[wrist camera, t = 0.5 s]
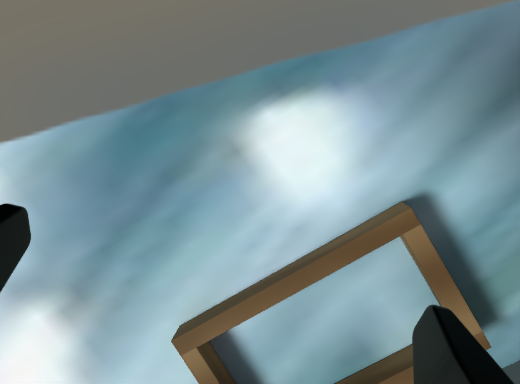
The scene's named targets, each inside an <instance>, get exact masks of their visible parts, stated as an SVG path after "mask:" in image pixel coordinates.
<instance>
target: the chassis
mask: <svg viewBox="0 0 520 384" xmlns="http://www.w3.org/2000/svg"><path fill="white" fill-rule="evenodd" d="M399 236H400V237H401V239H402V241H403V242H404V244H405V246H406V248H407V249H408V251H409V253H410V254H411V256H412V258H413V260H414V261H415V263H416V265H417V266H418V268H419V270H420V272H421V273H422V275H423V277H424V278H425V280H426V282H427V284H428V285H429V287H430V289H431V291H432V292H433V294H434V296H435V297H436V299H437V301H438V303H439V304H440V306H441V307H445V308H448V309H450V310H451V311H452V312H453V313H454V314H455V315H456V316H457V318H458V319H459V320H460V321H461V322H462V323H463V324H464V326H465V327H466V328H467V329H468V330H469V331H470V333H471V334H472V335H473V336H474V337H475V338H476V340H477V341H478V342H479V343H480V344H481V345H482V346H483V348H484V349H485V350H487V349H489V348H491V346H490V344H489V342H488V340H487V339H486V337H485V335H484V333H483V332H482V330H481V328H480V326H479V325H478V323H477V321H476V319H475V318H474V316H473V314H472V312H471V311H470V309H469V307H468V306H467V304H466V302H465V300H464V299H463V297H462V295H461V293H460V292H459V290H458V288H457V286H456V285H455V283H454V281H453V279H452V278H451V276H450V274H449V272H448V271H447V269H446V267H445V266H444V264H443V262H442V260H441V259H440V257H439V255H438V253H437V252H436V250H435V248H434V246H433V245H432V243H431V241H430V239H429V238H428V236H427V234H426V232H425V231H424V229H423V227H422V225H421V224H420V222H419V220H418V219H417V217H416V215H415V213H414V212H413V210H412V208H411V207H410V206H408V205H406V204H405V203H403V202H400V203H398V204H396V205H395V206H393V207H391V208H389V209H387V210H386V211H384V212H382V213H380V214H378V215H377V216H375V217H373V218H371V219H370V220H368V221H366V222H364V223H362V224H361V225H359V226H357V227H355V228H354V229H352V230H350V231H348V232H346V233H345V234H343V235H341V236H339V237H337V238H336V239H334V240H332V241H330V242H329V243H327V244H325V245H323V246H321V247H320V248H318V249H316V250H314V251H312V252H311V253H309V254H307V255H305V256H304V257H302V258H300V259H298V260H296V261H295V262H293V263H291V264H289V265H288V266H286V267H284V268H282V269H280V270H279V271H277V272H275V273H273V274H271V275H270V276H268V277H266V278H264V279H263V280H261V281H259V282H257V283H255V284H254V285H252V286H250V287H248V288H246V289H245V290H243V291H241V292H239V293H238V294H236V295H234V296H232V297H230V298H229V299H227V300H225V301H223V302H221V303H220V304H218V305H216V306H214V307H213V308H211V309H209V310H207V311H205V312H204V313H202V314H200V315H198V316H197V317H195V318H193V319H191V320H189V321H188V322H186V323H184V324H182V325H180V326H179V328H178V330H177V331H176V333H175V335H174V337H173V339H172V340H171V342H172V343H173V345H174V346H175V348H176V349H177V351H178V352H179V354H180V356H181V357H182V359H183V360H184V362H185V363H186V365H187V366H188V368H189V369H190V371H191V372H192V374H193V375H194V377H195V378H196V380H197V382H198V383H199V384H236V383H235V381H234V380H233V378H232V377H231V375H230V373H229V372H228V370H227V369H226V367H225V366H224V364H223V363H222V361H221V359H220V358H219V356H218V355H217V353H216V352H215V350H214V349H213V347H212V346H211V344H210V342H209V340H211V339H213V338H215V337H217V336H219V335H220V334H222V333H224V332H226V331H228V330H229V329H231V328H233V327H235V326H237V325H239V324H240V323H242V322H244V321H246V320H248V319H250V318H251V317H253V316H255V315H257V314H259V313H260V312H262V311H264V310H266V309H268V308H270V307H271V306H273V305H275V304H277V303H279V302H280V301H282V300H284V299H286V298H288V297H290V296H291V295H293V294H295V293H297V292H299V291H301V290H302V289H304V288H306V287H308V286H310V285H311V284H313V283H315V282H317V281H319V280H321V279H322V278H324V277H326V276H328V275H330V274H332V273H333V272H335V271H337V270H339V269H341V268H342V267H344V266H346V265H348V264H350V263H352V262H353V261H355V260H357V259H359V258H361V257H362V256H364V255H366V254H368V253H370V252H372V251H373V250H375V249H377V248H379V247H381V246H383V245H384V244H386V243H388V242H390V241H392V240H393V239H395V238H397V237H399ZM335 384H414V381H413V344H412V345H410V346H408V347H406V348H404V349H402V350H400V351H398V352H396V353H394V354H392V355H390V356H388V357H386V358H384V359H382V360H380V361H378V362H376V363H374V364H373V365H371V366H369V367H367V368H365V369H363V370H361V371H359V372H357V373H355V374H353V375H351V376H349V377H347V378H345V379H343V380H341V381H339V382H337V383H335Z"/></svg>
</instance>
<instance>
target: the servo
mask: <svg viewBox="0 0 520 384" xmlns="http://www.w3.org/2000/svg"><path fill="white" fill-rule="evenodd" d="M502 370H503V371H504V372H505V373H506V374H507V375H508V377H509V378H510V379H511V380H512V381H513V382H514V384H520V360H519V361H517V362H515V363H513V364H511V365H509V366H507V367H505V368H503V369H502Z"/></svg>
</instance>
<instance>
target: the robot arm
mask: <svg viewBox="0 0 520 384" xmlns="http://www.w3.org/2000/svg"><path fill="white" fill-rule="evenodd" d="M30 240H31V232H30V225H29V219H28V213H27V210H26V209H25V208H24V207H21V206H17V205H13V204H2V205H0V292H1V291H2V289H3V287H4V286H5V284H6V282H7V281H8V279H9V277H10V276H11V274H12V273H13V271H14V269H15V268H16V266H17V264H18V263H19V261H20V259H21V258H22V256H23V254H24V253H25V251H26V250H27V248H28V246H29V244H30ZM412 344H413V381H414V384H514V382H513V381H512V380H511V379H510V378H509V377H508V375H507V374H506V373H505V372H504V371H503V370H502V369H501V367H500V366H499V365H498V364H497V363H496V362H495V360H494V359H493V358H492V357H491V356H490V355H489V353H488V352H487V351H486V350H485V349H484V348H483V346H482V345H481V344H480V343H479V342H478V341H477V340H476V338H475V337H474V336H473V335H472V334H471V333H470V331H469V330H468V329H467V328H466V327H465V326H464V324H463V323H462V322H461V321H460V320H459V319H458V318H457V316H456V315H455V314H454V313H453V312H452V311H451V310H450V309H448V308H445V307H441V306H437V305H429V306H428V307H427V308H426V310H425V311H424V313H423V315H422V316H421V318H420V320H419V321H418V323H417V325H416V326H415V328H414V331H413V337H412Z"/></svg>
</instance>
